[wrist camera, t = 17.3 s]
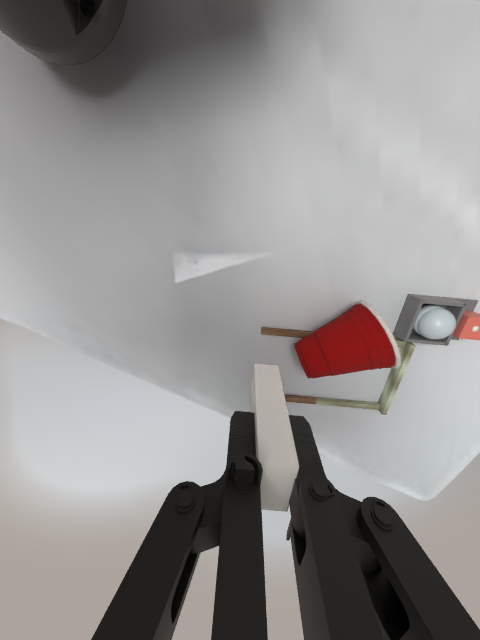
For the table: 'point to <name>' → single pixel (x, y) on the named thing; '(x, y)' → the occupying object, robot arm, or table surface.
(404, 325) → the dome housing
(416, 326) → the dome
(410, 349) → the u-shaped frame
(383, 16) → the table surface
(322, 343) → the plastic cup
